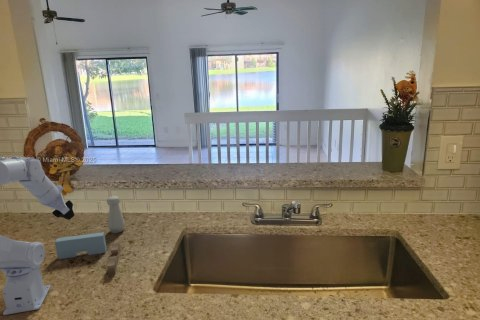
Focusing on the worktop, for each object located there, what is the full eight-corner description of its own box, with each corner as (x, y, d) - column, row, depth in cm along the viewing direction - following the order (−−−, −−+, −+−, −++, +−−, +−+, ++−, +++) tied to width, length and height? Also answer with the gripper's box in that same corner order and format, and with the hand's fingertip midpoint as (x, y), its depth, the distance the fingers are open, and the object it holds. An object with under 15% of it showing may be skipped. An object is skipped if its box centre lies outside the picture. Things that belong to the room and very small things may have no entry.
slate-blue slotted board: (105, 252, 108) (103, 235, 106) (58, 259, 105) (54, 241, 103) (106, 248, 110) (104, 232, 109) (60, 255, 107) (56, 238, 106)
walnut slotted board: (115, 274, 96) (114, 265, 95) (108, 275, 95) (106, 266, 95) (120, 250, 109) (119, 241, 108) (113, 250, 109) (112, 242, 108)
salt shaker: (105, 232, 122) (100, 198, 118) (117, 226, 126) (113, 193, 123) (117, 235, 119) (112, 201, 116) (129, 228, 124) (125, 195, 120)
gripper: (69, 191, 92) (88, 213, 103) (39, 164, 98) (61, 189, 109) (46, 209, 89) (69, 230, 100) (17, 181, 95) (42, 204, 106)
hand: (64, 210), depth 104 cm, fingers open, 7 cm apart
